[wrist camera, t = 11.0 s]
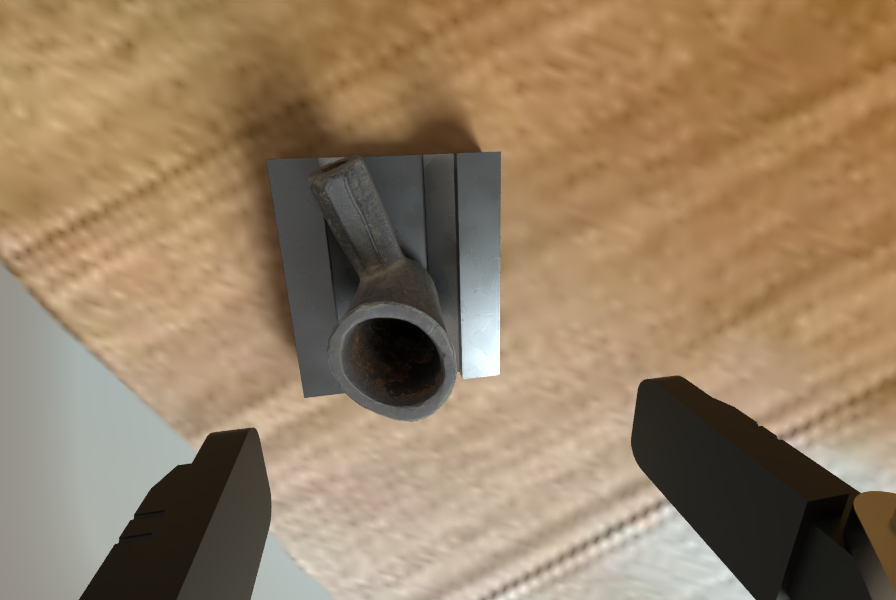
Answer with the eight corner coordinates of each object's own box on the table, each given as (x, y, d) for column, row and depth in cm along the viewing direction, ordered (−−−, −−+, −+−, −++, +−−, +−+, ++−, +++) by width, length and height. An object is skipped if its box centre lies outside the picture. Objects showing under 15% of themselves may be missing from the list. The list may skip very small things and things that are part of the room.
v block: (281, 159, 25) (266, 159, 22) (482, 153, 27) (500, 151, 24) (312, 368, 30) (304, 397, 26) (483, 349, 32) (499, 374, 28)
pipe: (388, 138, 23) (375, 163, 16) (463, 325, 29) (477, 405, 22) (287, 177, 24) (232, 218, 17) (380, 353, 29) (368, 440, 22)
